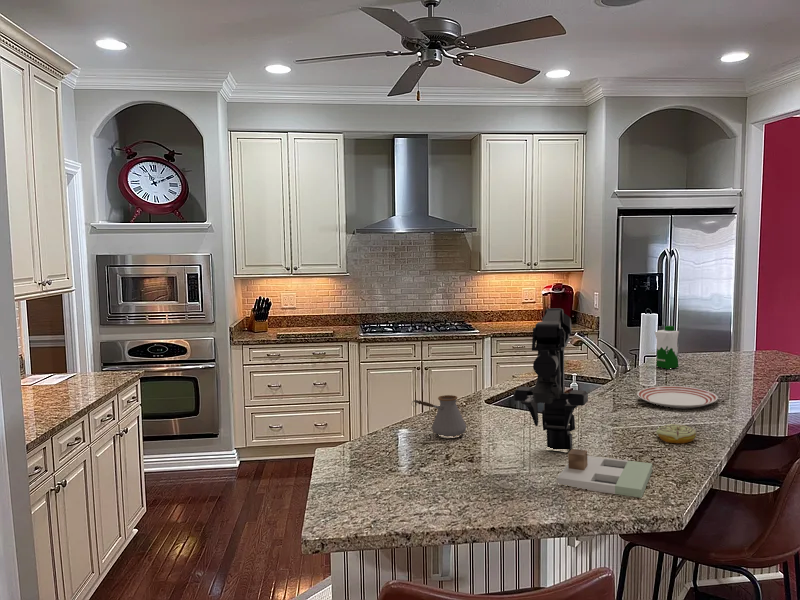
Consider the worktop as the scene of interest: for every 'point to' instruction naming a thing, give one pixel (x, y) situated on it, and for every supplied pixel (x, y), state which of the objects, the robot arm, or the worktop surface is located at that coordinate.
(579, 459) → the walnut block
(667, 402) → the dinner plate
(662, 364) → the milk carton
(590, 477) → the trap deck
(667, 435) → the decorated donut
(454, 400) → the coffee pot
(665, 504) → the worktop surface
